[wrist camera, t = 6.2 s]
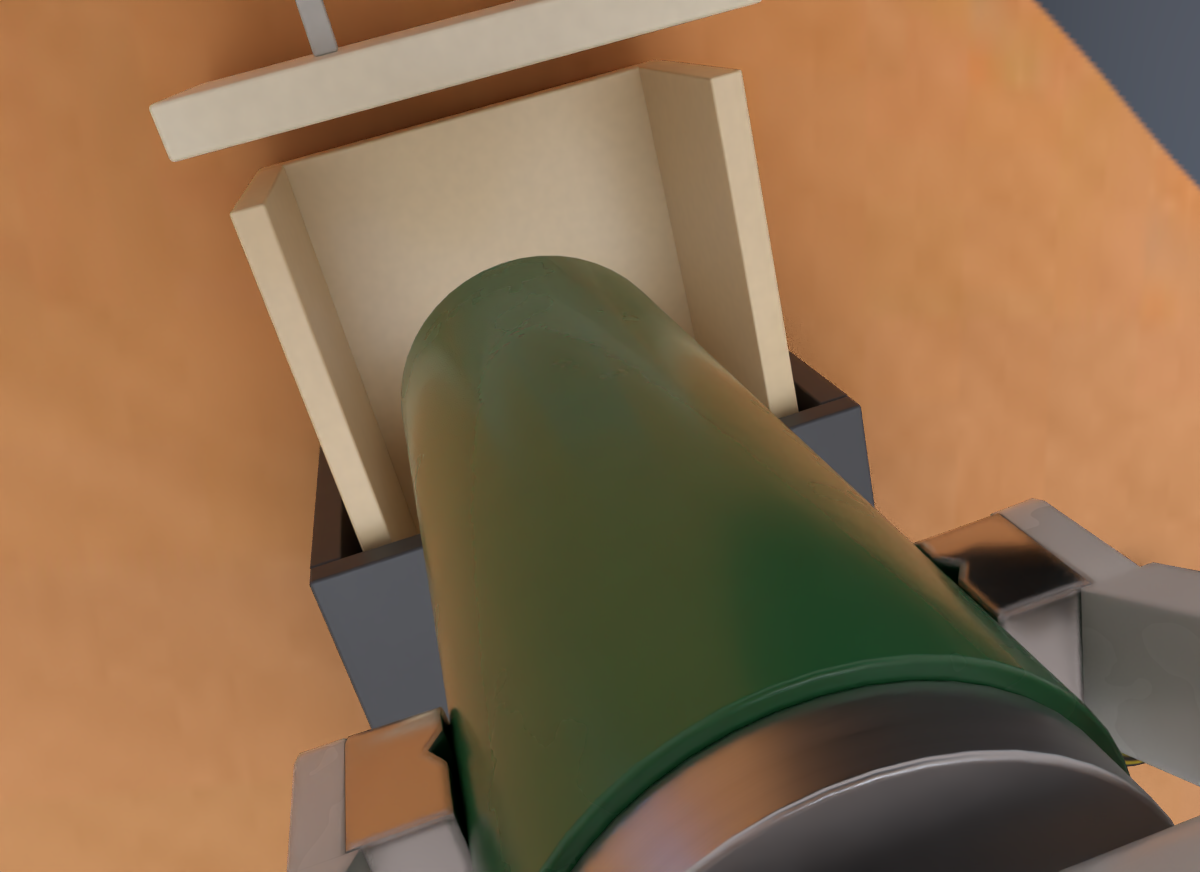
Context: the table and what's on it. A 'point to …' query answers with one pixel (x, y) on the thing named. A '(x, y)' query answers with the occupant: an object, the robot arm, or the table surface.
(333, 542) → the cabinet
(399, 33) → the drawer
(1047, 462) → the table surface
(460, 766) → the can
